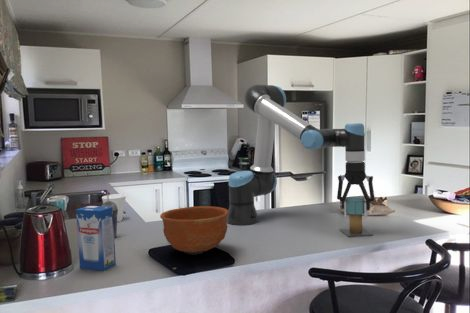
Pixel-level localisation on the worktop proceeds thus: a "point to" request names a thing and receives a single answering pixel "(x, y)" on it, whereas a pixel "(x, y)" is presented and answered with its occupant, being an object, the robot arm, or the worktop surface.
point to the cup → (117, 203)
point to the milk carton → (96, 237)
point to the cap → (355, 205)
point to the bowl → (195, 227)
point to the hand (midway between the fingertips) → (355, 217)
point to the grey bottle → (115, 212)
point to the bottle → (355, 227)
